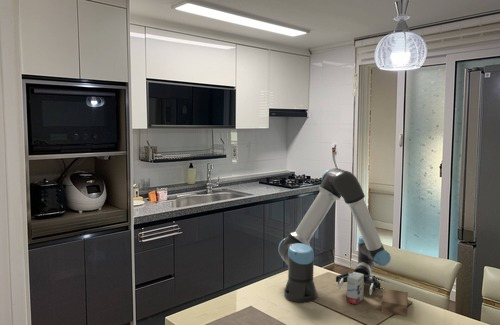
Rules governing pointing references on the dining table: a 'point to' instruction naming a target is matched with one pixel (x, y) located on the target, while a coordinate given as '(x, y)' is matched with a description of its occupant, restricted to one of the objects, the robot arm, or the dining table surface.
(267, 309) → the dining table surface
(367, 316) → the dining table surface
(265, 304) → the dining table surface
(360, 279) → the ink box
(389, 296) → the walnut block
